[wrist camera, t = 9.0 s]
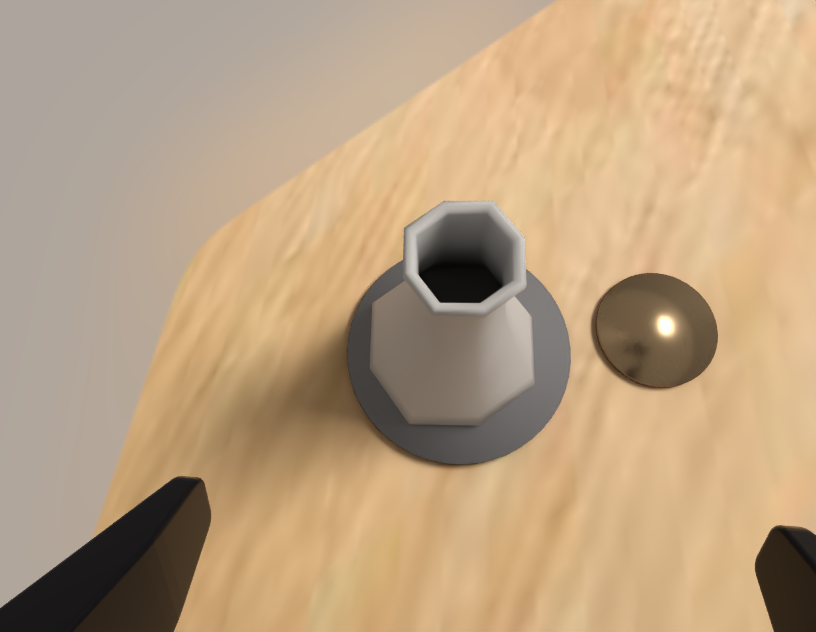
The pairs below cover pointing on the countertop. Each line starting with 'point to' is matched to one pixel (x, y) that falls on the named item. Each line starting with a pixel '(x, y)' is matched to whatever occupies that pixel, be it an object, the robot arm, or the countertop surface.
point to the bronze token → (656, 330)
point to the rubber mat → (499, 430)
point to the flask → (455, 318)
